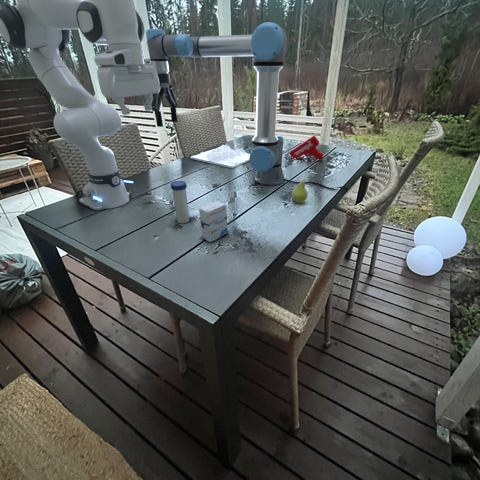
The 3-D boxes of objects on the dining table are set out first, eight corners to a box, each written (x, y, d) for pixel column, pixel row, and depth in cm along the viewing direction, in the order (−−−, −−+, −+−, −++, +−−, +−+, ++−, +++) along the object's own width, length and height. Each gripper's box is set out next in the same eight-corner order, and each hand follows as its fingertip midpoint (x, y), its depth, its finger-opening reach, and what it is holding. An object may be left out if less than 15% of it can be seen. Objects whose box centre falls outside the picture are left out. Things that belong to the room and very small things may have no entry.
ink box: (219, 228, 102) (217, 199, 95) (228, 233, 99) (227, 204, 92) (201, 237, 97) (198, 207, 90) (210, 242, 94) (207, 212, 87)
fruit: (288, 200, 123) (290, 174, 116) (302, 197, 125) (305, 172, 119) (296, 206, 118) (299, 179, 111) (310, 203, 120) (314, 177, 114)
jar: (184, 224, 105) (179, 187, 97) (174, 221, 107) (168, 185, 99) (192, 218, 109) (187, 183, 101) (181, 216, 111) (176, 181, 103)
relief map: (232, 168, 162) (231, 159, 159) (190, 158, 179) (189, 150, 177) (257, 157, 180) (257, 149, 177) (217, 149, 198) (217, 142, 195)
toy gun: (327, 155, 171) (315, 134, 168) (326, 157, 168) (314, 136, 164) (302, 170, 182) (290, 151, 178) (301, 172, 178) (289, 152, 174)
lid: (180, 191, 97) (180, 187, 96) (168, 189, 99) (167, 184, 98) (189, 186, 102) (189, 181, 101) (177, 183, 104) (176, 179, 103)
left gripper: (144, 59, 85) (153, 107, 92) (88, 57, 69) (103, 116, 77) (160, 58, 82) (167, 108, 90) (105, 57, 67) (119, 117, 74)
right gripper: (167, 72, 132) (173, 119, 143) (136, 73, 112) (146, 128, 123) (181, 72, 130) (186, 120, 141) (151, 73, 110) (160, 129, 121)
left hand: (137, 112), depth 83 cm, fingers open, 8 cm apart
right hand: (167, 124), depth 132 cm, fingers open, 13 cm apart
